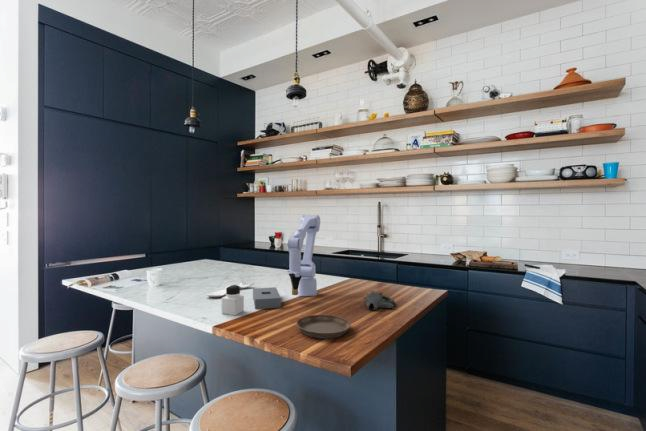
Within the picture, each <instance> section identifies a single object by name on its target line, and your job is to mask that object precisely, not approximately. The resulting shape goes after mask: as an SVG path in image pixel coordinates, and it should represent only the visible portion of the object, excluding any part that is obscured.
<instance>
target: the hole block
mask: <svg viewBox="0 0 646 431" xmlns="http://www.w3.org/2000/svg"><path fill="white" fill-rule="evenodd" d="M252 299H253V304H254V309H255V310H260V309H275V308H278V309H279V308H282V297H281V294H280V292H279V291H278V289H277V287H257V288H256V287H255V288H253V287H252Z"/></svg>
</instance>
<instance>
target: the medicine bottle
mask: <svg viewBox="0 0 646 431" xmlns="http://www.w3.org/2000/svg"><path fill="white" fill-rule="evenodd" d="M238 285H239V284H238ZM238 285H237V284H229V285H227V286H226V287H225V289H226V294H225V295H224V296H222V297H221V314H222V315H230V316H237V315H239V314H240V313H242V312H244V311H245V308H244V307H245V304H244V303H245V296H244V295H243V294H242V295H240V293H241V292H240V291H241V288H240V287H239V286H238Z"/></svg>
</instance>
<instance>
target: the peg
mask: <svg viewBox="0 0 646 431" xmlns="http://www.w3.org/2000/svg"><path fill="white" fill-rule="evenodd" d="M298 292H299V288H298V289H296V290H294V289H293V283H292V284H291V295H293V296H297V295H298ZM298 296H299V295H298Z"/></svg>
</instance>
